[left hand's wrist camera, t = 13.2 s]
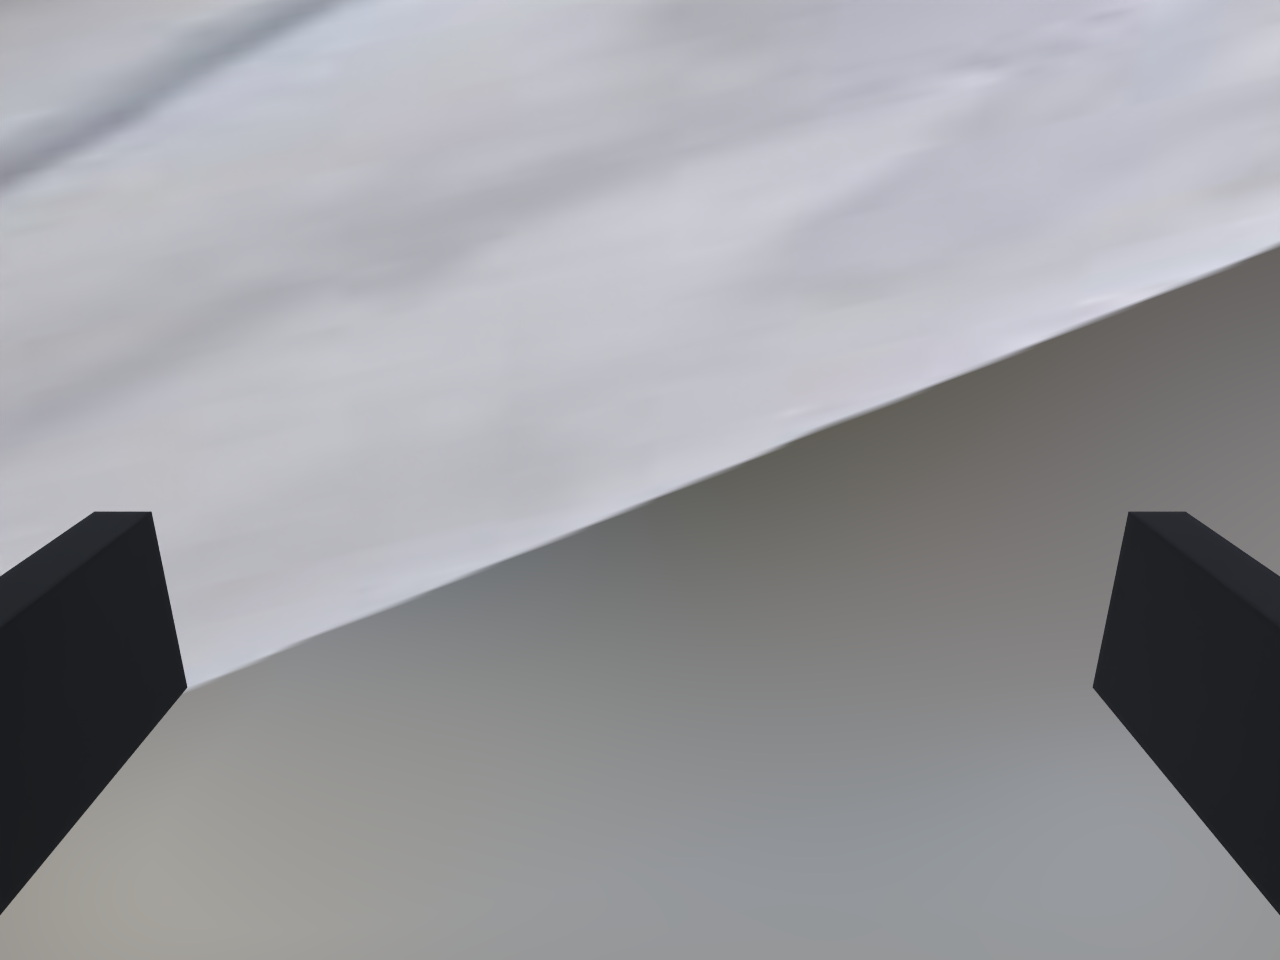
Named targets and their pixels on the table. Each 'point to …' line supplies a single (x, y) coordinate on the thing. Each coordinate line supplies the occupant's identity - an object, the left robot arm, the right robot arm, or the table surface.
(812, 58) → the table surface
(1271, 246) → the table surface
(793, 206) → the table surface
